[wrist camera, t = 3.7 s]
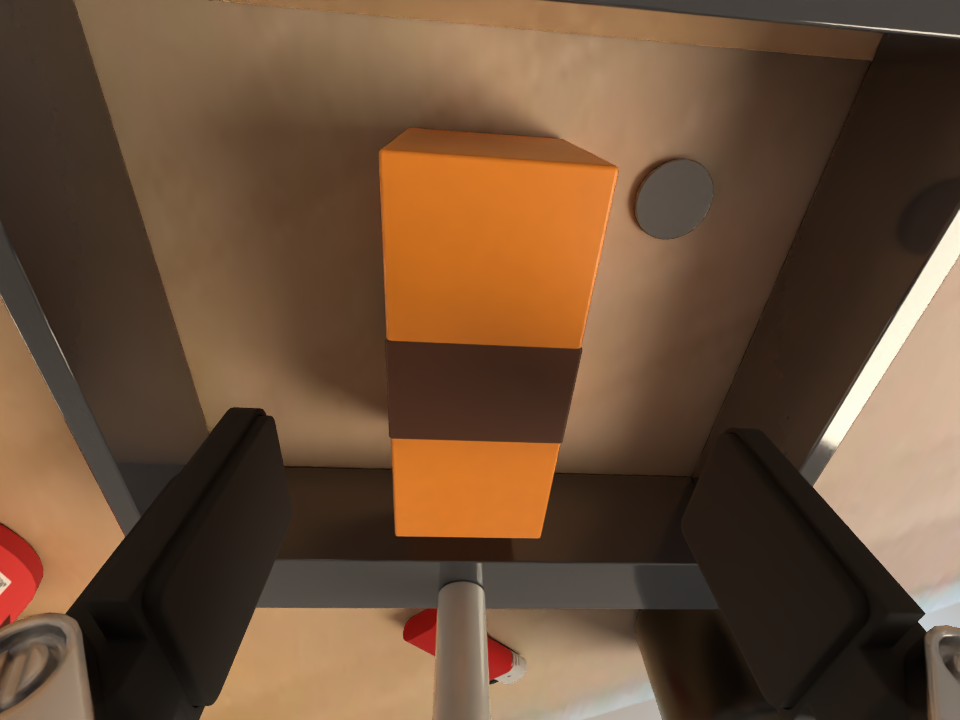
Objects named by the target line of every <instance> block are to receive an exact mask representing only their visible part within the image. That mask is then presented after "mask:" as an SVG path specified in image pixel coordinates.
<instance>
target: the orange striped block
mask: <svg viewBox="0 0 960 720" xmlns="http://www.w3.org/2000/svg"><path fill="white" fill-rule="evenodd" d="M618 172H619V171H618V167H617V166H615V165H613V164H611V163H609V162H607V161H605V160H603V159H601V158H599V157H597V156H595V155H593V154H591V153H589V152H587V151H585V150H583V149H581V148H579V147H577V146H575V145H573V144H571V143H569V142H567V141H565V140H563V139H554V138H541V137H528V136H514V135H501V134H488V133H474V132H461V131H448V130H434V129H421V128H409V129H407V130H406V131H404V132H403V133H402V134H401V135H399V136H398V137H397V138H395V139H394V140H393V141H391V142H390V143H389V144H387V145H386V146H385V147H384V148H382V149H381V150H380V152H379V175H380V198H381V221H382V245H383V268H384V291H385V315H386V340H385V352H386V375H387V397H388V419H389V437H390V438H391V454H392V478H393V501H394V524H395V535H396V536H413V537H481V538H540V536H541V532H542V528H543V523H544V518H545V514H546V509H547V504H548V500H549V495H550V490H551V485H552V481H553V476H554V471H555V467H556V462H557V457H558V453H559V448H560V443H562V442H563V437H564V433H565V428H566V423H567V419H568V414H569V409H570V405H571V400H572V396H573V391H574V386H575V382H576V377H577V372H578V368H579V363H580V359H581V354H582V347H581V345H582V340H583V336H584V331H585V326H586V321H587V317H588V312H589V307H590V303H591V298H592V293H593V289H594V284H595V279H596V275H597V270H598V265H599V261H600V256H601V251H602V247H603V242H604V237H605V232H606V228H607V223H608V218H609V214H610V209H611V204H612V200H613V195H614V190H615V186H616V181H617V176H618Z"/></svg>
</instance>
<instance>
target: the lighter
mask: <svg viewBox="0 0 960 720" xmlns="http://www.w3.org/2000/svg"><path fill="white" fill-rule="evenodd" d="M436 627H437V608H428V609H426V610H425V611H423V612H421V613H419V614H417V615H416V616H414V617H412V618H411V619H410V620H409V621H408V622H407V623H406V625H405V627H404V631H403V638H404V640H405V641H407V642H409V643H411V644H413V645H415V646H417V647H419V648H420V649H422V650H424V651H426V652H428V653H430V654H432V655H434V656H435V649H436ZM487 645H488V666H489V684H494V683H496V682H498V681H500V682H501V683H504V684H507V685H509V684H511V683H513V682H516V681H518V680H520V679H521V678H523V677H524V675H525V674H526V671H527V664H526V660H525V659H524V658H523V657H521V656H520V655H518V654H516V653H515V652H513V651H511V650H509V649H508V648H506V647H504V646H503V645H501V644H499V643H498V642H496V641H494V640H493V639H491V638H489V637H487Z"/></svg>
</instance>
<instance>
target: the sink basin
mask: <svg viewBox="0 0 960 720" xmlns="http://www.w3.org/2000/svg"><path fill="white" fill-rule="evenodd" d="M210 1H221V2H232V3H243V4H254V5H265V6H276V7H286V8H297V9H308V10H319V11H330V12H341V13H352V14H363V15H374V16H385V17H396V18H407V19H418V20H429V21H440V22H451V23H462V24H473V25H484V26H495V27H506V28H517V29H528V30H539V31H550V32H561V33H572V34H583V35H594V36H605V37H616V38H627V39H638V40H649V41H660V42H671V43H682V44H693V45H704V46H715V47H726V48H737V49H748V50H759V51H770V52H781V53H792V54H803V55H814V56H825V57H836V58H847V59H858V60H869V61H872V63H871V65H870V67H869V69H868V72H867V74H866V76H865V79H864V81H863V83H862V86H861V88H860V90H859V92H858V95H857V97H856V99H855V102H854V104H853V106H852V109H851V111H850V113H849V116H848V118H847V120H846V122H845V125H844V127H843V129H842V132H841V134H840V136H839V139H838V141H837V143H836V145H835V148H834V150H833V152H832V155H831V157H830V159H829V162H828V164H827V166H826V169H825V171H824V173H823V175H822V178H821V180H820V182H819V185H818V187H817V189H816V192H815V194H814V196H813V198H812V201H811V203H810V205H809V208H808V210H807V212H806V215H805V217H804V219H803V222H802V224H801V226H800V228H799V231H798V233H797V235H796V238H795V240H794V242H793V245H792V247H791V249H790V251H789V254H788V256H787V258H786V261H785V263H784V265H783V268H782V270H781V272H780V275H779V277H778V279H777V281H776V284H775V286H774V288H773V291H772V293H771V295H770V298H769V300H768V302H767V305H766V307H765V309H764V311H763V314H762V316H761V318H760V321H759V323H758V325H757V328H756V330H755V332H754V334H753V337H752V339H751V341H750V344H749V346H748V348H747V351H746V353H745V355H744V358H743V360H742V362H741V364H740V367H739V369H738V371H737V374H736V376H735V378H734V381H733V383H732V385H731V387H730V390H729V392H728V394H727V397H726V399H725V401H724V404H723V406H722V408H721V411H720V413H719V415H718V417H717V420H716V422H715V424H714V427H713V429H712V431H711V434H710V436H709V438H708V440H707V443H706V445H705V447H704V450H703V452H702V454H701V457H700V459H699V461H698V464H697V466H696V468H695V470H694V473H693V475H692V477H670V476H629V475H589V474H554V476H553V481H552V485H551V490H550V495H549V500H548V504H547V509H546V514H545V518H544V523H543V528H542V532H541V536H540V538H481V537H413V536H396V535H395V524H394V501H393V478H392V470H384V469H343V468H302V467H284V470H285V475H286V480H287V485H288V490H289V495H290V500H291V505H292V519H291V523H290V526H289V529H288V531H287V533H286V536H285V538H284V541H283V543H282V545H281V548H280V550H279V553H278V555H277V557H276V560H275V562H274V565H273V567H272V569H271V572H270V574H269V577H268V579H267V581H266V584H265V586H264V589H263V591H262V594H261V596H260V598H259V601H258V603H257V606H256V608H437V627H436V649H435V671H434V693H433V715H432V720H491V709H490V687H489V666H488V645H487V624H486V609H720V608H719V606H718V604H717V602H716V600H715V598H714V596H713V594H712V592H711V590H710V588H709V586H708V584H707V582H706V580H705V578H704V576H703V574H702V572H701V570H700V568H699V566H698V564H697V562H696V560H695V558H694V556H693V554H692V552H691V550H690V548H689V546H688V544H687V542H686V540H685V538H684V536H683V533H682V528H681V521H682V517H683V515H684V513H685V510H686V508H687V505H688V503H689V501H690V498H691V496H692V494H693V491H694V489H695V487H696V484H697V482H698V480H699V477H700V475H701V473H702V470H703V468H704V466H705V463H706V461H707V459H708V456H709V454H710V452H711V449H712V447H713V445H714V442H715V440H716V438H717V436H718V435H720V434H723V433H724V432H725V430H726V429H728V428H731V427H738V428H757V429H760V430H761V431H763V432H764V433H765V434H766V435H767V436H768V438H769V439H770V440H771V441H772V442H773V443H774V444H775V445H776V447H777V448H778V449H779V450H780V451H781V452H782V453H783V454H784V456H785V457H786V458H787V459H788V460H789V461H790V462H791V463H792V465H793V466H794V467H795V468H796V469H797V470H798V471H799V472H800V473H801V475H802V476H803V477H804V478H805V479H806V480H807V481H808V482H809V484H810V485H811V486H812V487H813V485H814V484H815V482H816V481H817V479H818V478H819V476H820V474H821V473H822V471H823V470H824V468H825V467H826V465H827V463H828V462H829V460H830V459H831V457H832V456H833V454H834V452H835V451H836V449H837V448H838V446H839V445H840V443H841V441H842V440H843V438H844V437H845V435H846V434H847V432H848V430H849V429H850V427H851V426H852V424H853V423H854V421H855V419H856V418H857V416H858V415H859V413H860V412H861V410H862V409H863V407H864V405H865V404H866V402H867V401H868V399H869V398H870V396H871V394H872V393H873V391H874V390H875V388H876V387H877V385H878V383H879V382H880V380H881V379H882V377H883V376H884V374H885V372H886V371H887V369H888V368H889V366H890V365H891V363H892V361H893V360H894V358H895V357H896V355H897V354H898V352H899V350H900V349H901V347H902V346H903V344H904V343H905V341H906V339H907V338H908V336H909V335H910V333H911V332H912V330H913V328H914V327H915V325H916V324H917V322H918V321H919V319H920V317H921V316H922V314H923V313H924V311H925V310H926V308H927V306H928V305H929V303H930V302H931V300H932V299H933V297H934V295H935V294H936V292H937V291H938V289H939V288H940V286H941V284H942V283H943V281H944V280H945V278H946V277H947V275H948V273H949V272H950V270H951V269H952V267H953V266H954V264H955V262H956V261H957V259H958V258H959V256H960V0H210ZM712 199H713V183H712V179H711V177H710V174H709V173H708V171H707V170H706V169H705V168H704V167H703V166H702V165H700V164H699V163H697V162H694V161H691V160H687V159H676V160H671V161H668V162H665V163H663V164H661V165H660V166H658V167H656V168H655V169H654V170H653V171H651V172H650V173H649V174H648V175H647V177H646V178H645V179H644V180H643V182H642V183H641V185H640V187H639V189H638V192H637V194H636V198H635V205H634V210H635V216H636V219H637V222H638V224H639V226H640V227H641V228H642V229H643V230H644V231H645V232H646V233H648V234H649V235H651V236H653V237H655V238H659V239H673V238H677V237H680V236H683V235H685V234H687V233H688V232H690V231H691V230H693V229H694V228H695V227H696V226H697V225H698V224H699V223H700V222H701V221H702V220H703V219H704V217H705V216H706V214H707V212H708V210H709V208H710V206H711V203H712ZM0 296H1V298H2V300H3V302H4V304H5V306H6V308H7V310H8V312H9V313H10V315H11V317H12V319H13V321H14V323H15V325H16V327H17V329H18V331H19V333H20V335H21V337H22V339H23V340H24V342H25V344H26V346H27V348H28V350H29V352H30V354H31V356H32V358H33V360H34V362H35V364H36V366H37V367H38V369H39V371H40V373H41V375H42V377H43V379H44V381H45V383H46V385H47V387H48V389H49V391H50V393H51V394H52V396H53V398H54V400H55V402H56V404H57V406H58V408H59V410H60V412H61V414H62V416H63V418H64V420H65V422H66V423H67V425H68V427H69V429H70V431H71V433H72V435H73V437H74V439H75V441H76V443H77V445H78V447H79V449H80V450H81V452H82V454H83V456H84V458H85V460H86V462H87V464H88V466H89V468H90V470H91V472H92V474H93V476H94V477H95V479H96V481H97V483H98V485H99V487H100V489H101V491H102V493H103V495H104V497H105V499H106V501H107V503H108V505H109V506H110V508H111V510H112V512H113V514H114V516H115V518H116V520H117V522H118V524H119V526H120V528H121V530H122V532H123V533H124V535H125V537H126V536H127V534H128V533H129V532H130V531H131V529H132V528H133V527H134V525H135V524H136V523H137V522H138V520H139V519H140V518H141V516H142V515H143V514H144V513H145V511H146V510H147V509H148V507H149V506H150V505H151V504H152V502H153V501H154V500H155V499H156V497H157V496H158V495H159V493H160V492H161V491H162V490H163V488H164V487H165V486H166V484H167V483H168V482H169V481H170V480H171V479H172V478H173V477H174V476H175V475H177V474H179V473H180V472H181V471H182V469H183V468H184V467H185V465H186V464H187V463H188V462H189V460H190V459H191V458H192V456H193V455H194V454H195V452H196V451H197V450H198V449H199V447H200V446H201V445H202V443H203V442H204V441H205V439H206V438H207V437H208V436H209V431H208V428H207V425H206V422H205V419H204V415H203V412H202V409H201V406H200V403H199V399H198V396H197V393H196V390H195V387H194V384H193V380H192V377H191V374H190V371H189V368H188V364H187V361H186V358H185V355H184V352H183V348H182V345H181V342H180V339H179V336H178V332H177V329H176V326H175V323H174V320H173V316H172V313H171V310H170V307H169V304H168V301H167V297H166V294H165V291H164V288H163V285H162V281H161V278H160V275H159V272H158V269H157V265H156V262H155V259H154V256H153V253H152V249H151V246H150V243H149V240H148V237H147V233H146V230H145V227H144V224H143V221H142V218H141V214H140V211H139V208H138V205H137V202H136V198H135V195H134V192H133V189H132V186H131V182H130V179H129V176H128V173H127V170H126V166H125V163H124V160H123V157H122V154H121V150H120V147H119V144H118V141H117V138H116V135H115V131H114V128H113V125H112V122H111V119H110V115H109V112H108V109H107V106H106V103H105V99H104V96H103V93H102V90H101V87H100V83H99V80H98V77H97V74H96V71H95V67H94V64H93V61H92V58H91V55H90V52H89V48H88V45H87V42H86V39H85V36H84V32H83V29H82V26H81V23H80V20H79V16H78V13H77V10H76V7H75V4H74V0H0Z"/></svg>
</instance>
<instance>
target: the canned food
mask: <svg viewBox="0 0 960 720" xmlns="http://www.w3.org/2000/svg"><path fill="white" fill-rule="evenodd" d="M42 577H43V566H42V564H41V561H40V558H39V557H38V555H37V554H36V552H35V551H34V549H33V548H32V547H31V546H30V545H29V544H28V543H27V542H26V541H25V540H24V539H22V538H21V537H20V536H18V535H17V534H16V533H14V532H13V531H12V530H10V529H8V528H7V527H5V526H3V525H1V524H0V629H1V628H3V627H4V626H6V625H8V624H10V623H13V622H14V621H15V620H16V619H17V617H18V616H19V615H20V614H21V612H22V611H23V610H24V609H25V608H26V606H27V605H28V604H29V603H30V602H31V600H32V599H33V597H34V595H35V593H36V591H37V588H38V586H39V584H40V582H41V579H42Z"/></svg>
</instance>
